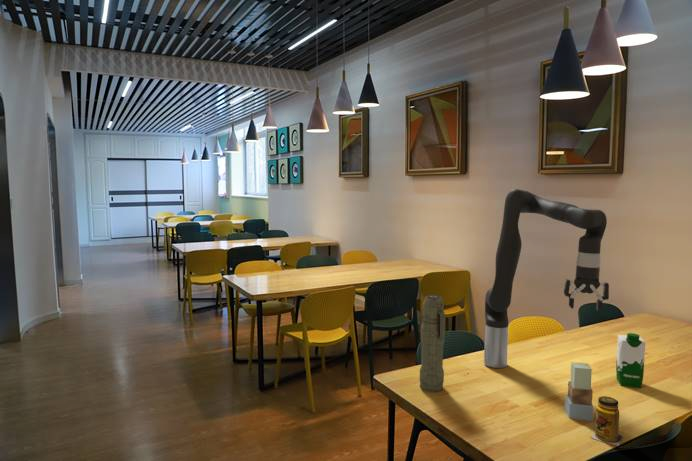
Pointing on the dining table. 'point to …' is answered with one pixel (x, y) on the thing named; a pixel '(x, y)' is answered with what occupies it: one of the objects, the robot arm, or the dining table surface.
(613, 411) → the condiment
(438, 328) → the thermos
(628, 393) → the dining table surface
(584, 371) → the green block
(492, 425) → the dining table surface
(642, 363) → the milk carton
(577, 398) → the tower top
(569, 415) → the tower base
